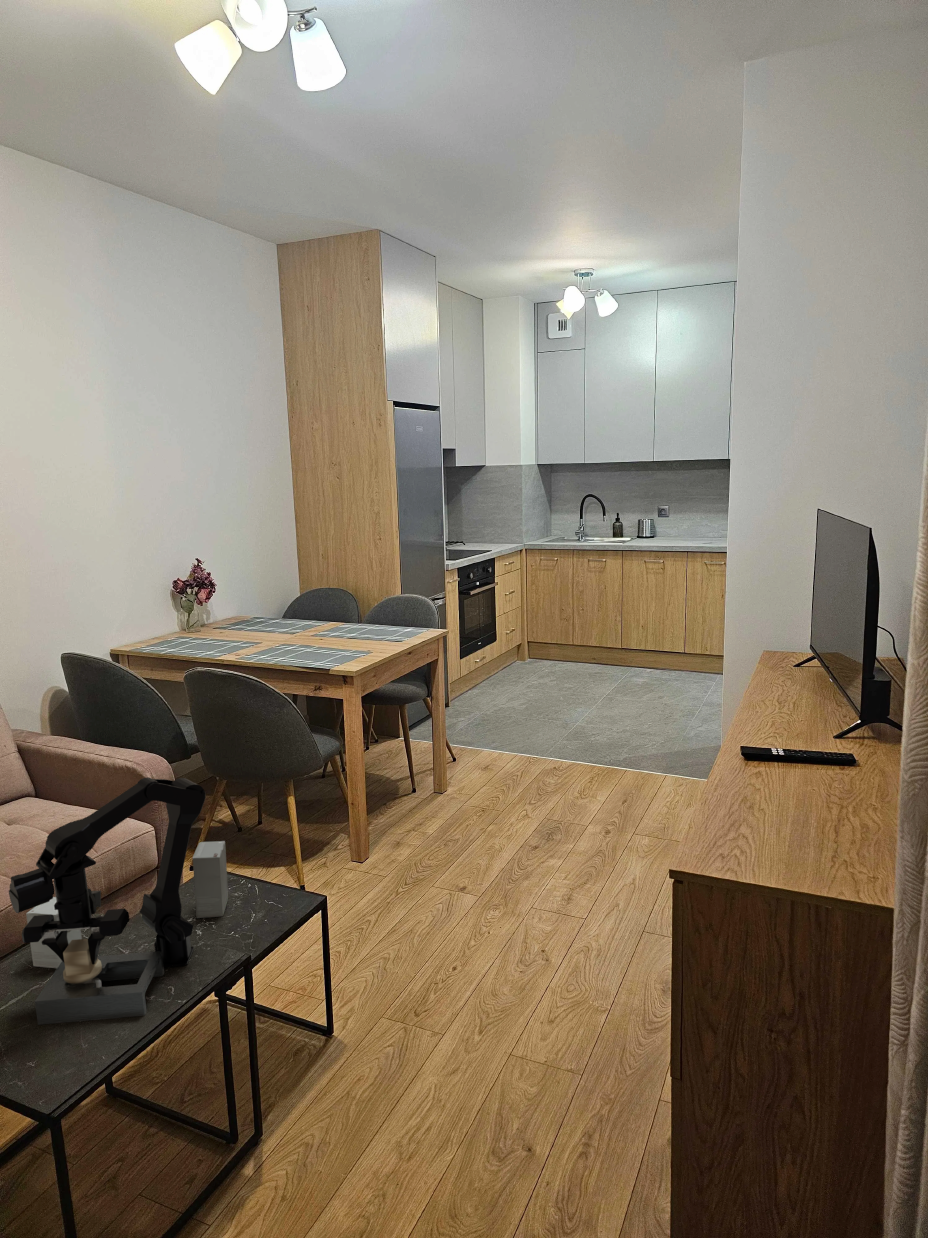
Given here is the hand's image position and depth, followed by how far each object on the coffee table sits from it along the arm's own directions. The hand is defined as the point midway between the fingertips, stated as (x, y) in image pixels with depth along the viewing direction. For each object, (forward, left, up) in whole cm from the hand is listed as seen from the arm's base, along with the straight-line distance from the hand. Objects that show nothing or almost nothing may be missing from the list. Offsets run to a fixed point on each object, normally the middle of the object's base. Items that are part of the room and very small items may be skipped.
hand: (81, 964), depth 165 cm
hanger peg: (0, 0, -6) cm, 6 cm away
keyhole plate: (-3, 0, -8) cm, 8 cm away
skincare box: (-18, -32, -8) cm, 38 cm away
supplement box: (+12, -16, -8) cm, 21 cm away
